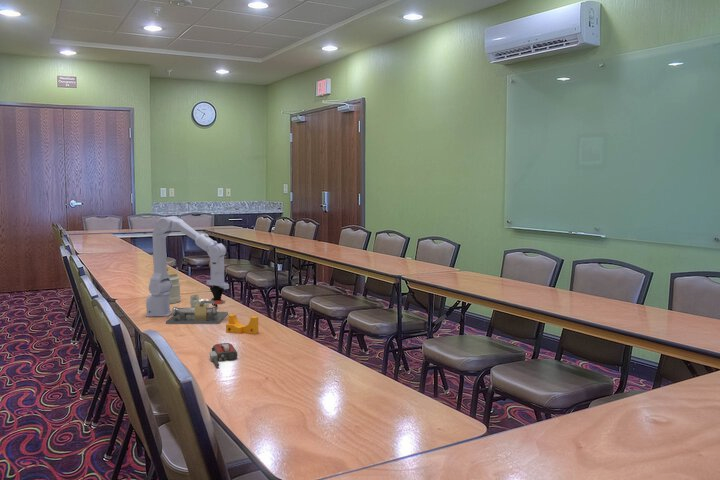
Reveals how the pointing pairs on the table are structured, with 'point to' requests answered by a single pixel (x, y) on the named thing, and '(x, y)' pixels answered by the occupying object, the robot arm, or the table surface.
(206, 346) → the table surface
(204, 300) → the valve lever
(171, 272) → the jar
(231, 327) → the pipe clamp
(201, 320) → the pipe stand
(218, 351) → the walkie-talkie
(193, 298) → the valve
